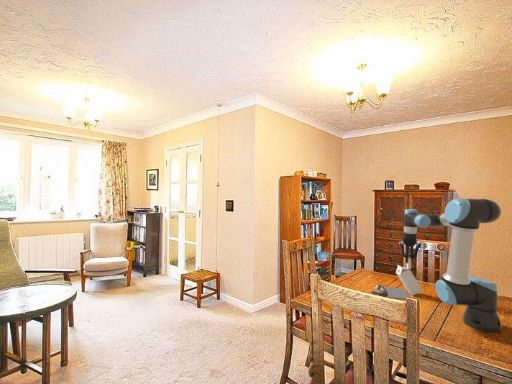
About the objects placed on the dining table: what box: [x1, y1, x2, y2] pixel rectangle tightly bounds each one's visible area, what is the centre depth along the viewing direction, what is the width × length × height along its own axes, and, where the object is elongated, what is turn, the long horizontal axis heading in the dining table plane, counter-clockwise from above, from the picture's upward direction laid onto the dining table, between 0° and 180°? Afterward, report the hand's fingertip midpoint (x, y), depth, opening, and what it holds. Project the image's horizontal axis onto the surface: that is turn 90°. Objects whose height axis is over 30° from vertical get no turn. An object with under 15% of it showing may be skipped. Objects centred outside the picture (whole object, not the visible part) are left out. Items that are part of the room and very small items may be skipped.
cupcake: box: [370, 284, 388, 297], centre depth 167 cm, size 10×10×10 cm
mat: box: [385, 286, 411, 300], centre depth 182 cm, size 20×17×1 cm
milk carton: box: [395, 264, 424, 296], centre depth 181 cm, size 7×7×19 cm
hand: (408, 267), depth 181 cm, fingers closed
